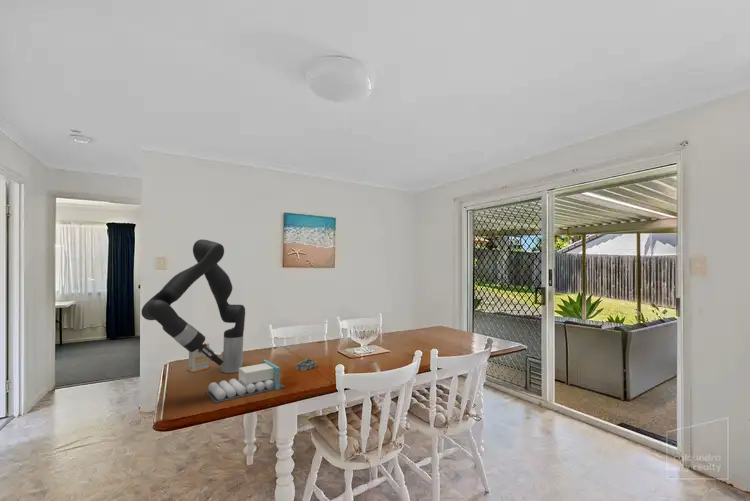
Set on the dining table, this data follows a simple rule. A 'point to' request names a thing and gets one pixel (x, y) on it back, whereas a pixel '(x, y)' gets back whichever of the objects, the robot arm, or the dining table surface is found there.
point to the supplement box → (198, 361)
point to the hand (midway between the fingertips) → (221, 363)
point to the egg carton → (306, 364)
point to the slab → (255, 373)
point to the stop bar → (275, 371)
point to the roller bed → (238, 389)
